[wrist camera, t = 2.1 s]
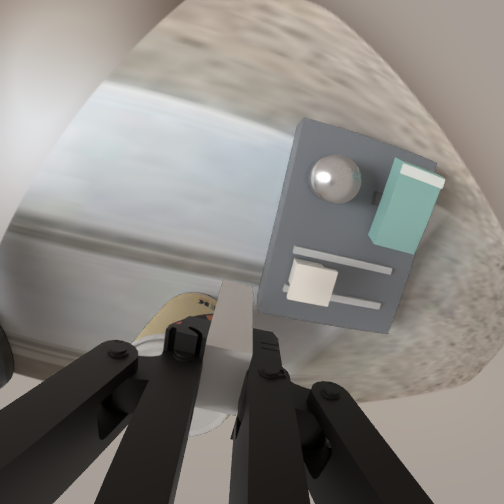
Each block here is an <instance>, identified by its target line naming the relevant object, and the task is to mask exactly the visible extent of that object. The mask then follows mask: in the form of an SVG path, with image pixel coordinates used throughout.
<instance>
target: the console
mask: <svg viewBox="0 0 504 504" xmlns="http://www.w3.org/2000/svg"><path fill="white" fill-rule="evenodd" d="M337 154H338V155H344V156H347V157H348V158H350V159H352V160H353V161H354V162H355V163H356V165H357V166H358V168H359V170H360V173H361V186H360V189H359V192H358V193H357V195H356V196H355V197H354V198H353V199H351V200H350V201H348V202H346V203H341V204H335V203H331V202H328V201H325V200H322V199H319V198H317V197H316V196H315V195H314V194H313V193H312V192H311V191H310V189H309V187H308V184H307V173H308V170H309V168H310V166H311V165H312V164H313V163H314V162H315V161H316V160H318V159H320V158H323V157H326V156H330V155H337ZM395 157H397V158H399V159H402V160H405V161H407V162H410V163H413V164H415V165H418V166H420V167H423V168H426V169H428V170H431V171H433V172H435V170H436V164H437V163H436V162H434V161H431V160H429V159H426V158H424V157H422V156H419V155H417V154H414V153H411V152H409V151H406V150H404V149H401V148H398V147H396V146H393V145H390V144H387V143H385V142H382V141H379V140H376V139H373V138H370V137H367V136H364V135H361V134H358V133H355V132H352V131H349V130H346V129H342V128H339V127H336V126H332V125H329V124H326V123H322V122H318V121H315V120H311V119H308V118H303V119H302V121H301V122H300V123H299V124H298V125H297V128H296V132H295V137H294V141H293V146H292V150H291V154H290V159H289V163H288V168H287V172H286V176H285V181H284V185H283V189H282V194H281V198H280V202H279V206H278V211H277V215H276V219H275V223H274V228H273V232H272V236H271V240H270V244H269V249H268V253H267V257H266V261H265V265H264V269H263V274H262V278H261V282H260V286H259V290H258V294H257V304H258V312H259V313H264V314H269V315H275V316H280V317H285V318H291V319H296V320H302V321H307V322H313V323H319V324H325V325H331V326H337V327H343V328H349V329H356V330H362V331H369V332H376V333H383V334H388V332H389V329H390V327H391V324H392V321H393V319H394V316H395V313H396V311H397V308H398V305H399V302H400V299H401V296H402V294H403V291H404V288H405V285H406V282H407V278H408V275H409V272H410V269H411V266H412V263H413V259H414V256H415V253H414V254H410V253H406V252H402V251H398V250H395V249H391V248H387V247H383V246H379V245H375V244H373V242H372V240H371V239H370V237H369V236H368V233H369V231H370V228H371V225H372V223H373V220H374V217H375V215H376V212H377V209H378V206H379V204H380V201H381V198H382V195H383V192H384V189H385V186H386V183H387V180H388V177H389V174H390V171H391V168H392V165H393V162H394V159H395ZM415 252H416V251H415ZM294 258H297V259H302V260H306V261H311V262H315V263H320V264H322V265H323V266H324V268H329V269H333V270H337V272H338V275H337V278H336V281H335V285H334V288H333V291H332V295H331V298H330V301H329V304H328V307H325V306H320V305H315V304H309V303H304V302H299V301H294V300H288V299H287V293H288V289H289V286H290V283H289V281H288V280H289V276H290V272H291V268H292V265H293V261H294Z"/></svg>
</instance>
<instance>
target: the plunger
mask: <svg viewBox="0 0 504 504" xmlns="http://www.w3.org/2000/svg"><path fill="white" fill-rule="evenodd" d="M307 184H308V187H309V189H310V191H311V192H312V193H313V194H314V195H315V196H316V197H317V198H319V199H322V200H325V201H328V202H331V203H335V204H341V203H346V202H348V201H350V200H351V199H353V198H354V197H355V196H356V195H357V193H358V192H359V189H360V186H361V173H360V170H359V168H358V166H357V165H356V163H355V162H354V161H353V160H352V159H350V158H348V157H347V156H344V155H338V154H337V155H330V156H326V157H323V158H320V159H318V160H316V161H315V162H314V163H313V164H312V165H311V166H310V168H309V170H308V173H307Z"/></svg>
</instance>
